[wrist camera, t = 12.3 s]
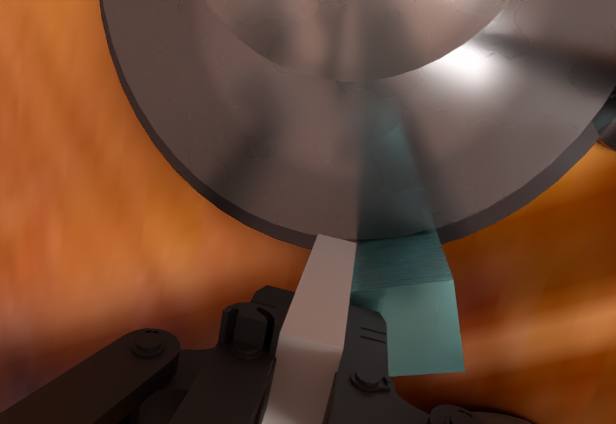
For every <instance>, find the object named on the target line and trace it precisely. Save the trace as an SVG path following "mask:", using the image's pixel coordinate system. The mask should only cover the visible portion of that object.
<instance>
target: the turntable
mask: <svg viewBox="0 0 616 424" xmlns="http://www.w3.org/2000/svg"><path fill="white" fill-rule="evenodd" d="M103 5H104V11H105V15H106V19H107V23H108V27H109V31H110V35H111V39H112V43H113V46H114V49H115V52H116V54H117V57H118V60H119V63H120V65H121V68H122V71H123V74H124V76H125V78H126V80H127V82H128V84H129V86H130V88H131V90H132V92H133V94H134V97H135V99H136V101H137V103H138V105H139V106H140V108H141V109H142V111H143V113H144V114H145V116H146V117H147V119H148V120H149V122H150V124H151V125H152V127H153V128H154V130H155V131H156V133H157V134H158V135H159V137H160V138H161V139H162V140H163V141H164V143H165V144H166V145H167V146H168V148H169V149H170V150H171V151H172V153H173V154H174V155H175V156H176V157H177V158H178V159H179V160H180V161H181V162H182V163H183V164H184V165H185V166H186V167H187V168H188V169H189V170H190V171H191V172H192V173H193V174H194V175H195V176H196V177H197V178H198V179H199V180H201V181H202V182H203V183H205V184H206V185H207V186H209V187H210V188H211V189H212V190H214V191H215V192H216V193H218V194H219V195H220V196H222V197H223V198H225V199H226V200H228V201H230V202H231V203H233V204H235V205H237V206H238V207H240V208H242V209H243V210H245V211H247V212H248V213H251V214H253V215H255V216H257V217H260V218H262V219H264V220H267V221H269V222H271V223H273V224H276V225H279V226H282V227H286V228H289V229H292V230H296V231H299V232H302V233H307V234H312V235H318V234H321V235H325V236H329V237H333V238H340V239H357V241H356V243H357V244H356V252H355V260H354V268H353V276H352V284H351V292H350V305H353V306H357V307H361V308H365V309H369V310H373V311H377V312H380V314H381V315H382V317H383V318H384V320H385V321H386V323H387V347H388V372H389V376H390V377H392V376H407V375H422V374H436V373H451V372H465V366H464V359H463V351H462V343H461V335H460V328H459V320H458V312H457V304H456V296H455V289H454V281H453V278H452V275H451V272H450V269H449V266H448V263H447V260H446V257H445V254H444V252H443V249H442V246H441V243H440V240H439V237H438V234H437V231H436V228H439V227H442V226H445V225H448V224H451V223H454V222H457V221H460V220H462V219H464V218H466V217H468V216H471V215H473V214H475V213H477V212H479V211H481V210H484V209H486V208H488V207H490V206H492V205H493V204H495V203H497V202H498V201H500V200H502V199H503V198H505V197H506V196H508V195H510V194H511V193H513V192H515V191H516V190H518V189H519V188H521V187H522V186H524V185H525V184H526V183H527V182H529V181H530V180H531V179H533V178H534V177H535V176H536V175H538V174H539V173H540V172H541V171H543V170H544V169H545V168H546V167H548V166H549V165H550V164H551V163H552V162H553V161H554V160H555V159H556V158H557V157H558V156H559V155H560V154H561V153H562V152H563V151H564V150H565V149H566V148H567V147H568V146H569V145H570V144H571V143H572V142H573V141H575V140H576V139H577V138H578V136H579V135H580V134H581V133H582V131H583V130H584V129H585V128H586V126H587V125H588V124H589V123H590V121H591V120H592V119H593V118H594V116H595V115H596V114H597V113H598V111H599V110H600V109H601V108H602V106H603V105H604V104H605V102H606V100H607V99H608V97H609V96H610V94H611V92H612V91H613V89H614V88H615V86H616V0H511V1H510V2H509V4H508V5H507V6H506V7H505V8H504V9H503V10H502V11H501V12H500V13H499V14H498V15H497V16H496V17H495V18H494V19H493V20H492V21H491V22H490V23H489V24H488V25H487V26H486V27H485V28H484V29H482V30H481V31H480V32H479V33H477V34H476V35H475V36H473V37H472V38H471V39H470V40H468V41H467V42H466V43H465V44H463V45H462V46H460V47H458V48H457V49H455V50H454V51H452V52H450V53H449V54H447V55H445V56H444V57H442V58H440V59H438V60H436V61H434V62H432V63H429V64H427V65H425V66H423V67H421V68H419V69H416V70H413V71H410V72H406V73H403V74H400V75H397V76H394V77H389V78H383V79H377V80H371V81H348V82H344V81H335V80H325V79H319V78H315V77H311V76H307V75H303V74H299V73H297V72H294V71H292V70H289V69H287V68H284V67H281V66H279V65H277V64H275V63H274V62H272V61H270V60H268V59H266V58H265V57H263V56H261V55H259V54H258V53H256V52H255V51H254V50H252V49H251V48H250V47H249V46H247V45H246V44H245V43H243V42H242V41H241V40H239V39H238V38H237V37H236V36H235V35H234V34H233V33H232V32H231V31H230V30H229V29H228V28H227V27H226V26H225V25H224V24H223V23H222V22H221V20H220V19H219V18H218V17H217V15H216V14H215V13H214V12H213V10H212V9H211V8H210V7H209V5H208V4H207V2H206V1H205V0H103Z"/></svg>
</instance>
